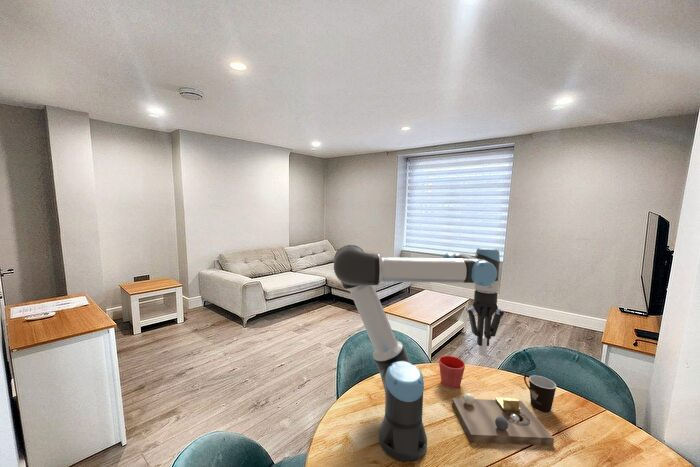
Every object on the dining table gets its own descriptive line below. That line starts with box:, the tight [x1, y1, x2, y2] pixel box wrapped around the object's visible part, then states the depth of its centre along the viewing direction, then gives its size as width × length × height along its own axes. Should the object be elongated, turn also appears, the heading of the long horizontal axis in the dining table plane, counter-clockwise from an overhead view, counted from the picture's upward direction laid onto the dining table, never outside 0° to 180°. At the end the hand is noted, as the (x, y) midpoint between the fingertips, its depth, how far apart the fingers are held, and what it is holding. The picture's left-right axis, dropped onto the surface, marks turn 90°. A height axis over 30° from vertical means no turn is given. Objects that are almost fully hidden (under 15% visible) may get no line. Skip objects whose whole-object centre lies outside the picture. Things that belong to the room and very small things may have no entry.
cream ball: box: [463, 392, 475, 405], centre depth 105 cm, size 4×4×4 cm
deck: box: [451, 397, 555, 446], centre depth 99 cm, size 26×18×2 cm
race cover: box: [494, 397, 520, 411], centre depth 104 cm, size 6×6×4 cm
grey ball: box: [495, 417, 508, 430], centre depth 93 cm, size 4×4×4 cm
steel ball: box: [509, 413, 520, 422], centre depth 99 cm, size 3×3×3 cm
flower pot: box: [438, 355, 466, 389], centre depth 122 cm, size 11×11×10 cm
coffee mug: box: [523, 374, 557, 414], centre depth 109 cm, size 12×9×10 cm
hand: (482, 354), depth 103 cm, fingers closed
